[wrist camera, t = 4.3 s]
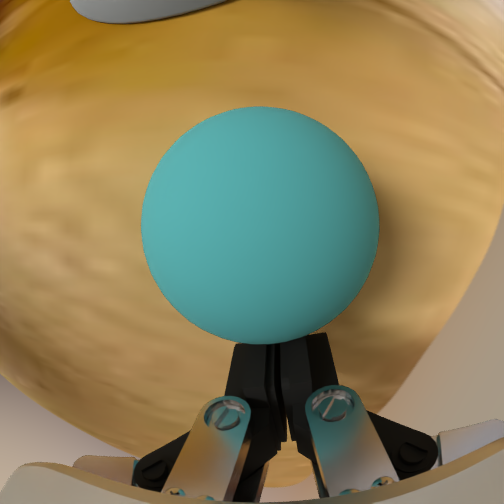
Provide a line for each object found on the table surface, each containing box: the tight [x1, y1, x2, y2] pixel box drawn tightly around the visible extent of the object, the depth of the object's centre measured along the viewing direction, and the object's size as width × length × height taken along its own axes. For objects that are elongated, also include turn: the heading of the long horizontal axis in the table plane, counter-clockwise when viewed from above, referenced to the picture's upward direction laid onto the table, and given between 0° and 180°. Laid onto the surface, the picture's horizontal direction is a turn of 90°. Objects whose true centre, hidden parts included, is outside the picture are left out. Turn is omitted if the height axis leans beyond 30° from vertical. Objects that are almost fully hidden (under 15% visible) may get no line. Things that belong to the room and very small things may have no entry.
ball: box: [141, 107, 379, 344], centre depth 7 cm, size 6×6×6 cm
